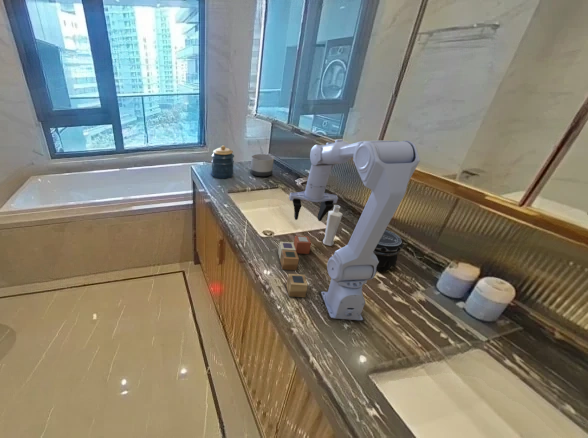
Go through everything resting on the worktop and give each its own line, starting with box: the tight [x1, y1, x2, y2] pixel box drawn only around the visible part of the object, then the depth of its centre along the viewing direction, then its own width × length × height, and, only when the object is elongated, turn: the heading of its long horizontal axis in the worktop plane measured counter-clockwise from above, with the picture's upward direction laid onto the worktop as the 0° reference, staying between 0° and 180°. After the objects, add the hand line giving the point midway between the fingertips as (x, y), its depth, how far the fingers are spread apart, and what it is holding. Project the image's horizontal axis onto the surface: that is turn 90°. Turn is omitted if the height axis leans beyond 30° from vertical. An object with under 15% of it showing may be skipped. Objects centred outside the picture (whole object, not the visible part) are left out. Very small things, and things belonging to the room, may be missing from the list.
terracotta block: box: [293, 235, 312, 255], centre depth 99 cm, size 4×4×5 cm
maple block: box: [285, 273, 309, 298], centre depth 81 cm, size 4×4×5 cm
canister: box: [211, 145, 235, 179], centre depth 165 cm, size 13×13×18 cm
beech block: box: [279, 250, 300, 271], centre depth 91 cm, size 4×4×5 cm
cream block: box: [277, 241, 296, 261], centre depth 96 cm, size 4×4×5 cm
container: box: [373, 229, 404, 272], centre depth 92 cm, size 13×13×10 cm
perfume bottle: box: [322, 204, 344, 247], centre depth 100 cm, size 5×4×15 cm
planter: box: [249, 153, 275, 178], centre depth 167 cm, size 13×13×10 cm
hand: (307, 218), depth 96 cm, fingers open, 7 cm apart
